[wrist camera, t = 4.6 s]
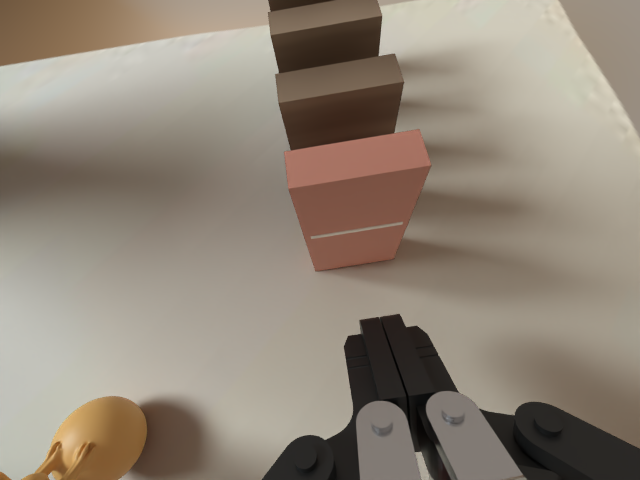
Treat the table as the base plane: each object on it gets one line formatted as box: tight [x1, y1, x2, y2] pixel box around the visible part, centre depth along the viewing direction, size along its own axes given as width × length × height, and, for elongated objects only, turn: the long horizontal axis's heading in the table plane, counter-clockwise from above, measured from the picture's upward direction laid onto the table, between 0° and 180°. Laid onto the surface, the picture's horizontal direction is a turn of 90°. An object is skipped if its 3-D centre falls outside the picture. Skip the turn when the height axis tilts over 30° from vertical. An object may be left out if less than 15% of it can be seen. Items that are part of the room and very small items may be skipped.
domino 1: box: [268, 0, 382, 73], centre depth 19 cm, size 2×5×10 cm, turn 98°
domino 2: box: [275, 54, 404, 150], centre depth 18 cm, size 2×5×10 cm, turn 98°
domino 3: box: [284, 129, 431, 271], centre depth 16 cm, size 2×5×10 cm, turn 99°
